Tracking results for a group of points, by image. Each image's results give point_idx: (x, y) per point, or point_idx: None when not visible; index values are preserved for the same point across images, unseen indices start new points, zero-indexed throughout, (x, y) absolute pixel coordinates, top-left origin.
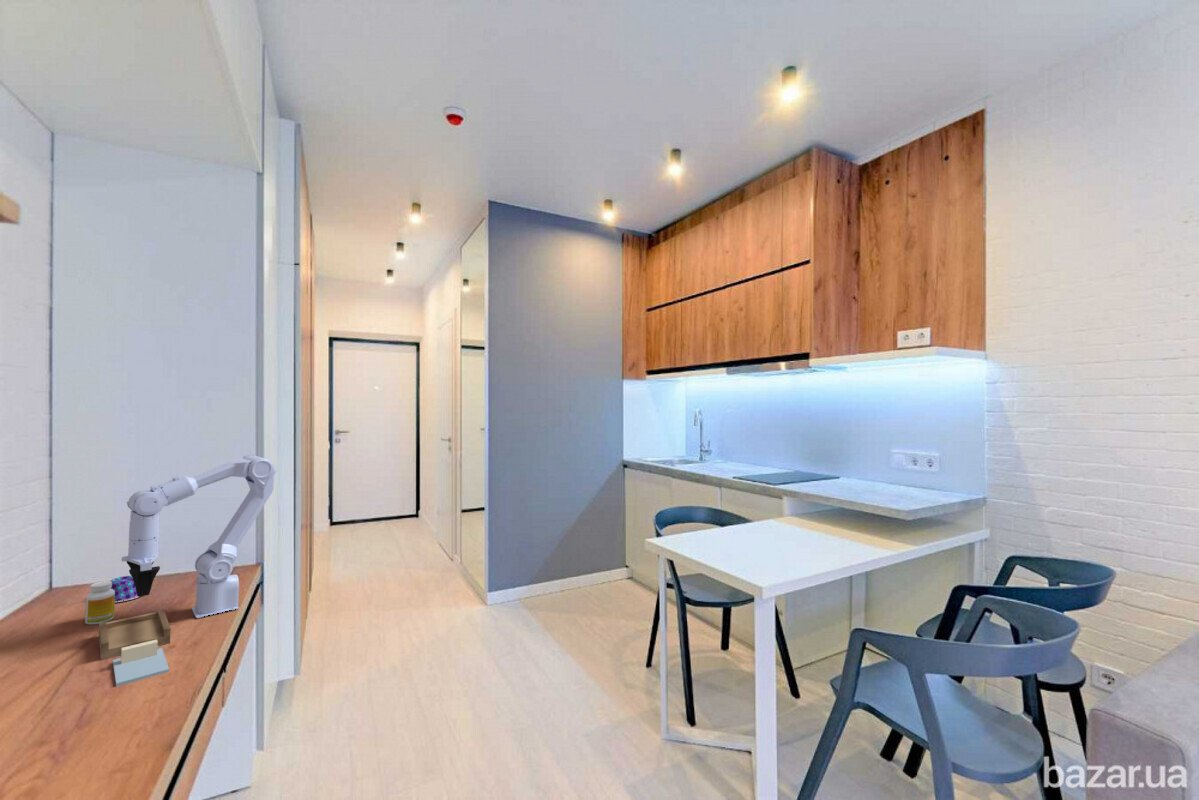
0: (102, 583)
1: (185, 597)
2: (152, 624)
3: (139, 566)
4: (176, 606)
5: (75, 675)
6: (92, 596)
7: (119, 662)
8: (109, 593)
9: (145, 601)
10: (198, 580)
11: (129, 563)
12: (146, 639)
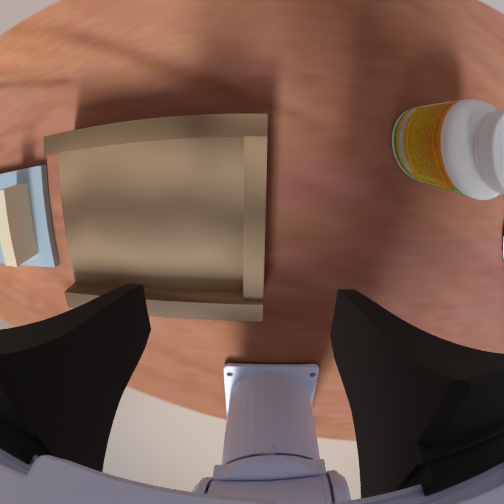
0: None
1: None
2: (186, 271)
3: (387, 415)
4: None
5: (33, 98)
6: (464, 111)
7: (24, 180)
8: (461, 175)
9: (474, 269)
10: (262, 461)
11: (440, 391)
12: (74, 243)
